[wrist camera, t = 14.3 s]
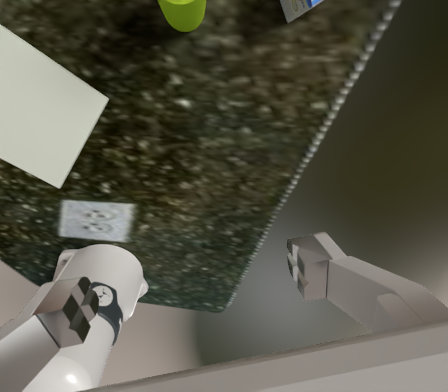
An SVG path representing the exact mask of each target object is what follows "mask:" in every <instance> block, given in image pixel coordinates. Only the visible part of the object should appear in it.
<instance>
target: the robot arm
mask: <svg viewBox="0 0 448 392" xmlns="http://www.w3.org/2000/svg"><path fill="white" fill-rule="evenodd" d="M287 248H288V250H289V252H290V253H289V255H288V256H287V257H288V265H289V270H290V273H291V275H292V277H293V279H294V280H296V281H297V282H298V289H299V291H300V293H301V295H302V297H303V299H304V301H309V300H315V299H321V298H327V299H328V300H329V301H330V302H332V303H333V304H335V305H336V306H337V307H339V308H340V309H341V310H343V311H344V312H346V313H347V314H348V315H350V316H351V317H353V318H354V319H355V320H357V321H358V322H359V323H361V324H362V325H364V326H365V327H366V328H368V329H369V330H370V331H371V334H366V335H361V336H356V337H351V338H346V339H341V340H336V341H331V342H325V343H320V344H316V345H310V346H305V347H300V348H295V349H290V350H285V351H279V352H275V353H269V354H264V355H259V356H254V357H249V358H244V359H239V360H234V361H229V362H225V363H219V364H214V365H209V366H204V367H198V368H194V369H188V370H184V371H178V372H173V373H168V374H163V375H158V376H153V377H148V378H143V379H138V380H132V381H127V382H122V383H118V384H112V385H107V386H102V387H99V386H100V382H101V379H102V376H103V373H104V369H105V366H106V363H107V359H108V356H109V353H110V350H111V347H112V346H113V345H114V343H115V342H116V339H117V337H118V335H119V333H120V330H121V325H122V322H124V321H126V320H127V319H128V318H129V317H131V316H132V314H133V312H134V309H135V306H136V303H137V300H138V299H139V298H140V297H141V296H142V295H144V294H145V293H146V292H147V290H148V284H147V282H146V281H145V280H144V278H143V271H142V267H141V264H140V263H139V261H138V260H137V258H136V257H135V256H134V255H133V254H131V253H130V252H128V251H127V250H125V249H123V248H120V247H117V246H114V245H108V244H97V245H91V246H88V247H85V248H82V249H70V250H64V251H62V253H61V254H60V256H59V260H58V263H57V267H56V271H55V274H54V278H53V281H52V282H47V283H45V284H43V285H42V286H41V287H40V288H39V290H38V291H37V292H36V294H35V295H34V296H33V297H32V299H31V300H30V301H29V302H28V304H27V305H26V306H25V307H24V309H23V310H22V311H21V313H20V314H19V315H18V316H17V318H16V319H11V320H10V321H9V322H7V323H6V324H4V325H3V326H1V327H0V392H448V308H447V307H446V306H445V305H444V304H443V303H441V301H439V300H438V299H437V298H436V297H435V296H434V295H433V294H431V293H430V292H429V291H428V290H427V289H426V288H425V287H424V286H422V285H419V284H417V283H415V282H412V281H410V280H407V279H405V278H402V277H400V276H398V275H395V274H393V273H391V272H388V271H386V270H383V269H381V268H378V267H376V266H373V265H371V264H369V263H366V262H364V261H361V260H359V259H356V258H354V257H352V256H349V257H347V256H346V255H345V254H344V253H343V252H342V251H341V249H340V248H339V247H338V246H337V245H336V244H335V243H334V241H333V240H332V239H331V238H330V237H329V236H328V235H327V234H326V233H325V232H320V233H316V234H312V235H307V236H302V237H297V238H292V239H288V240H287ZM65 260H66V261H65Z"/></svg>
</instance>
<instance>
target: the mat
mask: <svg viewBox="0 0 448 392" xmlns="http://www.w3.org/2000/svg"><path fill="white" fill-rule="evenodd" d="M108 100H109V98H107V97H106V96H104V95H103V94H101V93H100V92H98V91H97V90H96V89H94V88H93V87H91V86H90V85H88V84H87V83H85V82H84V81H82V80H81V79H79V78H78V77H77V76H75V75H74V74H72V73H71V72H69V71H68V70H66V69H65V68H63V67H62V66H60V65H59V64H58V63H56V62H55V61H53V60H52V59H50V58H49V57H47V56H46V55H44V54H43V53H41V52H40V51H39V50H37V49H36V48H34V47H33V46H31V45H30V44H28V43H27V42H25V41H24V40H22V39H21V38H20V37H18V36H17V35H15V34H14V33H12V32H11V31H9V30H8V29H6V28H5V27H4V26H2V25H1V24H0V158H1V159H3V160H5V161H7V162H9V163H11V164H13V165H14V166H16V167H18V168H20V169H22V170H24V171H26V172H28V173H30V174H32V175H34V176H36V177H38V178H40V179H42V180H44V181H46V182H47V183H49V184H51V185H53V186H55V187H57V188H61V186H62V184H63V183H64V181H65V179H66V177H67V175H68V174H69V172H70V170H71V168H72V166H73V164H74V163H75V161H76V159H77V157H78V155H79V153H80V152H81V150H82V148H83V146H84V144H85V142H86V141H87V139H88V137H89V135H90V133H91V132H92V130H93V128H94V126H95V124H96V122H97V121H98V119H99V117H100V115H101V113H102V111H103V110H104V108H105V106H106V104H107V102H108Z"/></svg>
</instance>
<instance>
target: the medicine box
mask: <svg viewBox="0 0 448 392" xmlns="http://www.w3.org/2000/svg"><path fill="white" fill-rule="evenodd" d="M322 1H324V0H280V2H281V5H282V8H283V11H284V14H285V17H286V20H287V23H289V22H291V21H292V20H294V19H296V18H297V17H299V16H300V15H302V14H304V13H305V12H307V11H308V10H310V9H311V8H313V7H315V6H316V5H318V4H319V3H321V2H322Z"/></svg>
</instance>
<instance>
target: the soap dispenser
mask: <svg viewBox="0 0 448 392" xmlns="http://www.w3.org/2000/svg"><path fill="white" fill-rule="evenodd" d="M157 1H158V3H159V5H160V7H161V9H162V12H163V14H164V16H165V18H166V20H167V21H168V23H169V24H170V25H171V26H172V27H173V28H175V29H176V30H178V31H181V32H190V31H193V30H194V29H196V28H197V27H198V26H199V25H200V24H201V22H202V20H203V17H204V13H205V6H206V0H157Z"/></svg>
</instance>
